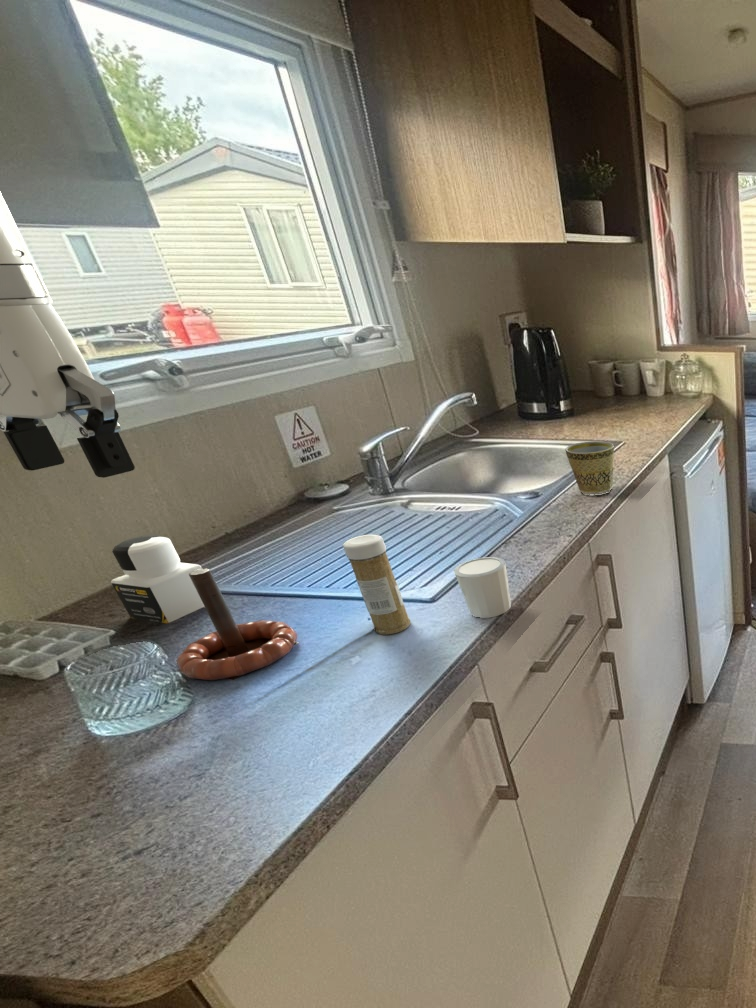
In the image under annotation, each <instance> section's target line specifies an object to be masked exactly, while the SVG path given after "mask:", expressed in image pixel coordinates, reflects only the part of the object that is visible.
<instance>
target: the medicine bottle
mask: <svg viewBox="0 0 756 1008" xmlns="http://www.w3.org/2000/svg"><path fill="white" fill-rule="evenodd" d="M111 552H112V554H113V557H114V558H115V559H116V561H117V563H118V565H119V567H120V569H121V571H122V572H123V574H124V575H121V576H118V577H115V578H112V579H111V581H110V584H111V586H112V587H113V589H114V591H115V593H116V595H117V597H119V600H120V601H121V603H122V605H123V607H124V608H125V610H126V612H127V614H128V616H129V618H130V619H133V620H141V621H146V622H147V621H148V622H154V623H160V624H161V623H162V624H170V623H172V622H174V621H177V620H179V619H181V618H183V617H186V616H187V615H189V614H191V613H194V612H196V611H198V610H201V609H203V608H205V606H204V604H203V602H202V600H201V598H200V596H199V594H198V592H197V590H196V588H195V586H194V584H193V582H192V580H191V578H190V576H189V573H190V572H192V571H194V570H197V569H202V568H203V567H202V566H201V565H200V564H197V563H190V562H189V563H188V562H181V559H180V556H179V554H178V552H177V550H176V549H175V547H174V544H173V542H172V540H171V539H170V538H169V537H167V536H165V535H159V534H148V535H141V536H136V537H132V538H128V539H126V540H123V541H121V542H119V543H118V544H116V545H115V546H114V547H113V548H112V551H111Z"/></svg>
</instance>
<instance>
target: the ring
mask: <svg viewBox="0 0 756 1008" xmlns="http://www.w3.org/2000/svg"><path fill="white" fill-rule="evenodd" d="M236 625H237V627H238V629H239V631H240V633H241V635H242V637H243V639H244V642H246V641H252V640H258V639H271V640H270V641H269V642H267V643H265V644H264V645H262V646H260V647H259V648H257V649H254V650H252V651H249V652H246V653H243V654H240V655H238V656H234V657H228V658H223V659H217V660H208V659H207V658H208V657H210V656H211V655H213V654H215V653H217V652H218V651H220V650H222V649H224V648H225V647H224V645H223V643H222V641H221V639H220V637H219V635H218V632H217V630H215V631H214V632H209V633H208V634H207V635H204V636H203V637H201V638H199V639H197V640H195V641H194V642H192V643H190V644H188V645H187V646H186V648H184V650H183V651H182V652H181V654H180V655H179V656H178V657H177V659H176V665H177V667H178V669H180V670H181V671H182V672H181V671H180V672H181V673H182V674H183V675H184V676H185V677H187V678H189V679H196V680H207V681H217V680H223V679H224V678H229V677H234V676H240V675H242V676H243V675H246V674H249V673H252V672H254V671H257V670H259V669H262V668H265V667H268V666H270V665H273V663H275V662H277V661H278V660H280V659H281V658H283V657H285V656H286V655H288V654H289V653H290V652H291V650H292V649H293V647H294V646H295V645H294V643H295V642H297V640H298V633H297V632H296V630H295V629H294V628H293V627H291V626H290V625H289V624H287V623H286V622H283V621H275V620H257V621H249V622H245V623H239V624H238V623H236ZM293 645H294V646H293ZM240 677H241V676H240Z"/></svg>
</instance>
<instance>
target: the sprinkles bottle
mask: <svg viewBox="0 0 756 1008" xmlns="http://www.w3.org/2000/svg"><path fill="white" fill-rule="evenodd" d="M342 547H343V551H344V553H345V556H346V558H347V559H348V561H349V562H350V565H351V568H352V570H353V573H354V577H355V580H356V584H357V587H358V588H359V591H360V594H361V596H362V599H363V602H364V605H365V608H366V610H367V612H368V614H369V616H370V619H371V623H372V625H373V631H374V632H375V633H376V634H378V635H382V636H383V635H384V636H385V635H386V636H387V635H393V634H397V633H401V632H402V631H404V630H406V629H408V627H409V626H410V625H411V619H410V618H409V616H408V612H407V610H406V607H405V604H404V599H403V597H402V593H401V591H400V588H399V585H398V583H397V581H396V577H395V575H394V572H393V570H392V566H391V563H390V561H389V558H388V555H387V547H386V544H385V541H384V538H383V536H381V535H379V534H363V535H358V536H355V537H351V538H350V539H347V540H346V541H345V542H344V543H343V544H342Z"/></svg>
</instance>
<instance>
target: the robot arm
mask: <svg viewBox="0 0 756 1008" xmlns="http://www.w3.org/2000/svg"><path fill="white" fill-rule="evenodd" d="M53 303H54V302H53V299H52V297H51V295H50V293H49V291H48V289H47V287H46V285H45V283H44V281H43V278H42V276H41V274H40V272H39V270H38V268H37V266H36V264H35V262H34V260H33V258H32V255H31V253H30V252H29V250H28V247H27V245H26V244H25V241H24V239H23V237H22V235H21V233H20V230H19V228H18V226H17V224H16V222H15V219H14V217H13V215H12V213H11V211H10V209H9V207H8V204H7V203H6V201H5V199H4V197H3V195H2V192H1V191H0V431H1V432H3V434H4V436H5V437H6V440H7V441H8V442H9V445H10V447H11V448H12V451H13V452H14V454H15V456H16V457H17V459H18V461H19V463H20V464H21V466H22V468H23V469H24V470H26V471H30V472H31V471H37V470H41V469H47V468H51V467H55V466H59V465H63V464H64V463H65V458H64V457H63V455H62V453H61V451H60V449H59V447H58V444H57V443H56V441H55V439H54V438H53V435H52V433H51V432H50V430H49V428H48V426H47V424H46V425H45V424H42V425H40V420H49V419H54V418H55V417H57V416H58V415H59V417H61V418H62V419H63V420H64V421H65V422H67V424H69V425H70V427H72V428H73V429H74V430H75V431H76V432H77V433H78V434H80V435H81V437H76V440H77V442H78V444H79V446H80V447H81V449H82V453H84V456H85V458H86V460H87V462H88V464H89V465H90V467H91V469H92V471H93V474H94V475H95V476H96V477H97V478H104V479H105V478H109V477H113V476H117V475H121V474H125V473H128V472H133V471H134V470H135V469H136V467H135V463H134V462H133V460H132V458H131V456H130V453H129V452H128V449H127V447H126V445H125V443H124V441H123V439H122V437H121V435H120V432H121V429H122V428H121V425H120V424H119V423H118V421H119V417H120V415H119V411H117V409H116V408H117V407H116V397H115V396H116V395H115V393H114V392H113V390H112V389H111V388H109V387H108V386H105V384H102V383H100V382H99V381H97V380H96V378H95V377H94V374H93V373H92V371H91V369H90V367H89V365H88V363H87V361H86V359H85V357H84V356H83V354H82V352H81V350H80V349H79V347H78V345H77V343H76V341H75V340H74V337H73V336H72V334H71V333H70V331H69V329H68V328H67V327H66V325H65V323H64V322H63V320H62V317H60V315H59V314H58V312H57V311H56V309H55V308H54V306H53V305H52V304H53ZM81 416H87V417H86V420H84V419H83V418H82V417H81Z"/></svg>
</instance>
